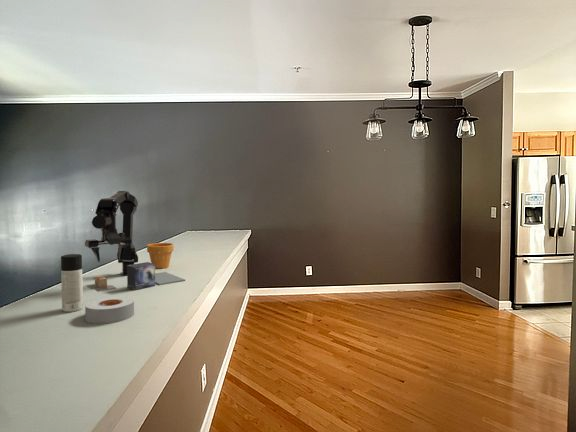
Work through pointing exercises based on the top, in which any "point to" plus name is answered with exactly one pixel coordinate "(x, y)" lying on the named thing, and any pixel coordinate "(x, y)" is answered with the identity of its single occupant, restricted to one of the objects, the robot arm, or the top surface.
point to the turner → (102, 283)
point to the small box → (140, 275)
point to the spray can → (71, 282)
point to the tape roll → (109, 310)
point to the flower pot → (160, 254)
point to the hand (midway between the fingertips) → (109, 260)
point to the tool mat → (166, 278)
